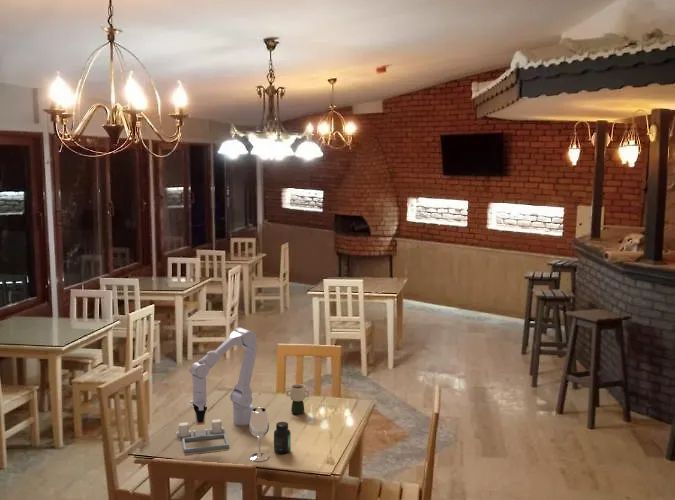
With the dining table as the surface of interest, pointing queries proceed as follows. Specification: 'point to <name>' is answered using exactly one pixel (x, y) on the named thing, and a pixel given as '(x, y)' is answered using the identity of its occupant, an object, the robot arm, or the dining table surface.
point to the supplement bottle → (282, 439)
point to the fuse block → (199, 433)
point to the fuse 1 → (183, 429)
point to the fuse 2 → (216, 426)
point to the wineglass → (259, 430)
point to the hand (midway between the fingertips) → (200, 420)
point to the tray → (205, 446)
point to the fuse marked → (197, 420)
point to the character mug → (297, 397)
